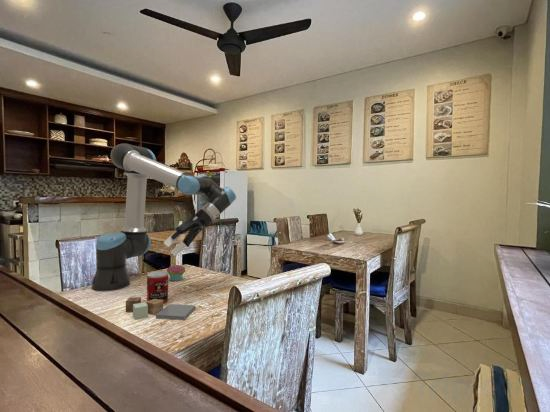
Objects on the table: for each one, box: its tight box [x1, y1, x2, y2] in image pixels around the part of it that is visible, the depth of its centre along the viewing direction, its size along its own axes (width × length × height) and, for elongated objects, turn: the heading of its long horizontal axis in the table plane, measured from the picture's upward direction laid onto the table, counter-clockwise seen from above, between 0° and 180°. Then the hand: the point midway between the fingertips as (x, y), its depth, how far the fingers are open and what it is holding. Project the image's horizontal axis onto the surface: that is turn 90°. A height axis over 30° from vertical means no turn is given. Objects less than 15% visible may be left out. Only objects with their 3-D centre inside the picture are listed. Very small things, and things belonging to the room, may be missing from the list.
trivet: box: [155, 303, 196, 321], centre depth 104 cm, size 10×10×1 cm
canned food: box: [146, 270, 169, 305], centre depth 115 cm, size 8×8×11 cm
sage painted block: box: [132, 301, 149, 321], centre depth 101 cm, size 4×4×4 cm
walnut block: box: [125, 296, 142, 313], centre depth 107 cm, size 4×4×4 cm
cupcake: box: [166, 255, 186, 282], centre depth 146 cm, size 9×8×12 cm
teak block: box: [145, 299, 164, 316], centre depth 105 cm, size 4×4×4 cm
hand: (169, 249), depth 122 cm, fingers open, 13 cm apart
